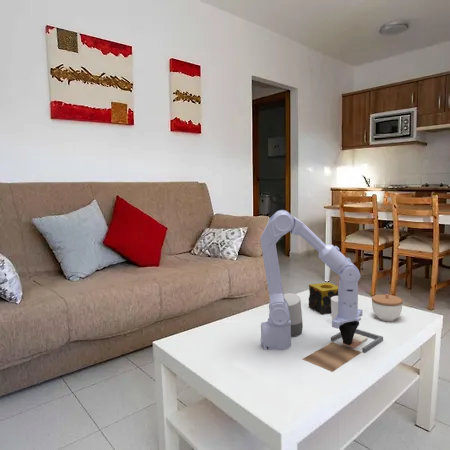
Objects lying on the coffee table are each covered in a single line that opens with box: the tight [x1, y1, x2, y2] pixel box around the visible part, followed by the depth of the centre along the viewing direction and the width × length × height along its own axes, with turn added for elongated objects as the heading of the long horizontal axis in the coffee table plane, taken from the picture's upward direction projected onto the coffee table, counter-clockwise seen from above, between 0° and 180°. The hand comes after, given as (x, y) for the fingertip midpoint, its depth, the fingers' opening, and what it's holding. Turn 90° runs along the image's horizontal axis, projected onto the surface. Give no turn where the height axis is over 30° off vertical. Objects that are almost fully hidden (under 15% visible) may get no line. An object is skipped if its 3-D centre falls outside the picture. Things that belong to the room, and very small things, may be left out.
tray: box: [330, 328, 384, 354], centre depth 116 cm, size 12×12×3 cm
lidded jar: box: [371, 293, 404, 322], centre depth 137 cm, size 11×11×9 cm
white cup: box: [330, 296, 338, 321], centre depth 132 cm, size 8×8×10 cm
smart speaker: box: [283, 292, 304, 338], centre depth 124 cm, size 10×9×14 cm
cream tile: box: [353, 333, 368, 345], centre depth 116 cm, size 4×4×2 cm
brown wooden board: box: [302, 341, 363, 373], centre depth 106 cm, size 16×10×2 cm, turn 131°
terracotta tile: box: [341, 339, 362, 349], centre depth 114 cm, size 4×4×2 cm
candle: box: [308, 281, 339, 315], centre depth 149 cm, size 10×10×10 cm
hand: (347, 343), depth 112 cm, fingers closed
